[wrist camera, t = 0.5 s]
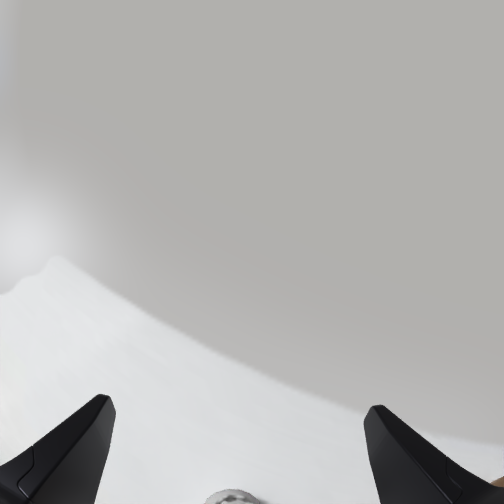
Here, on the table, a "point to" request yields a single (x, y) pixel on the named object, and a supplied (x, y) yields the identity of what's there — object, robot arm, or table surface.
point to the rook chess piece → (231, 497)
